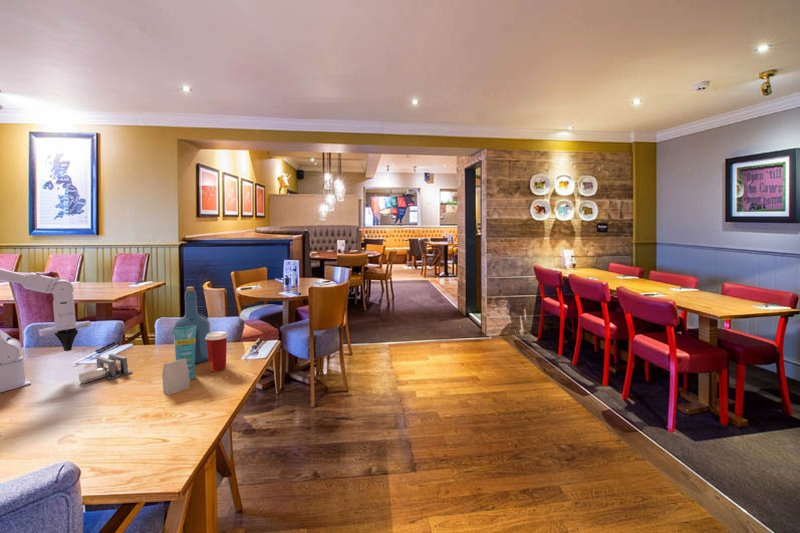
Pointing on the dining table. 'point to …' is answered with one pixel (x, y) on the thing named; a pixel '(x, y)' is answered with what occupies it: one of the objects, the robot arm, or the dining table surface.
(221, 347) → the paper cup
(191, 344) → the tube
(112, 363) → the grey holder stand
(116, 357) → the collar
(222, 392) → the dining table surface
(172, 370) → the tea bag
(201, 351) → the wine bottle
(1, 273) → the robot arm
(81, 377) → the silver cylinder
